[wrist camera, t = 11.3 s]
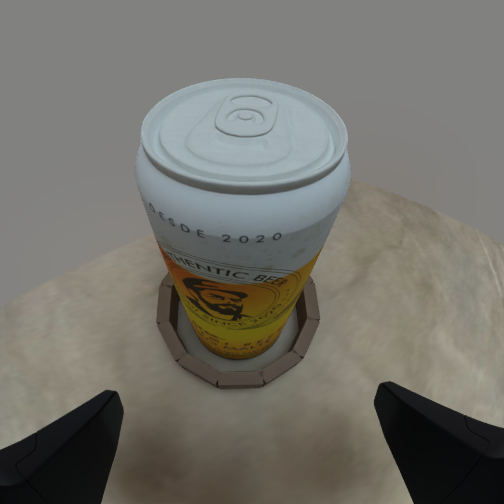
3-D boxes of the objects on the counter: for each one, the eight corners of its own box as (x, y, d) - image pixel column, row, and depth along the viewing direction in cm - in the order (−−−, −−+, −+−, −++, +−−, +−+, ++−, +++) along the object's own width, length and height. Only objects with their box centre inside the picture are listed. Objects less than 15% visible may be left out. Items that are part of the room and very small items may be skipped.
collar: (270, 414, 16) (275, 414, 14) (140, 340, 18) (127, 329, 16) (328, 289, 21) (338, 274, 19) (213, 236, 23) (210, 216, 21)
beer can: (185, 351, 18) (79, 185, 5) (204, 273, 21) (175, 71, 8) (276, 367, 17) (381, 226, 5) (285, 286, 21) (348, 90, 8)
